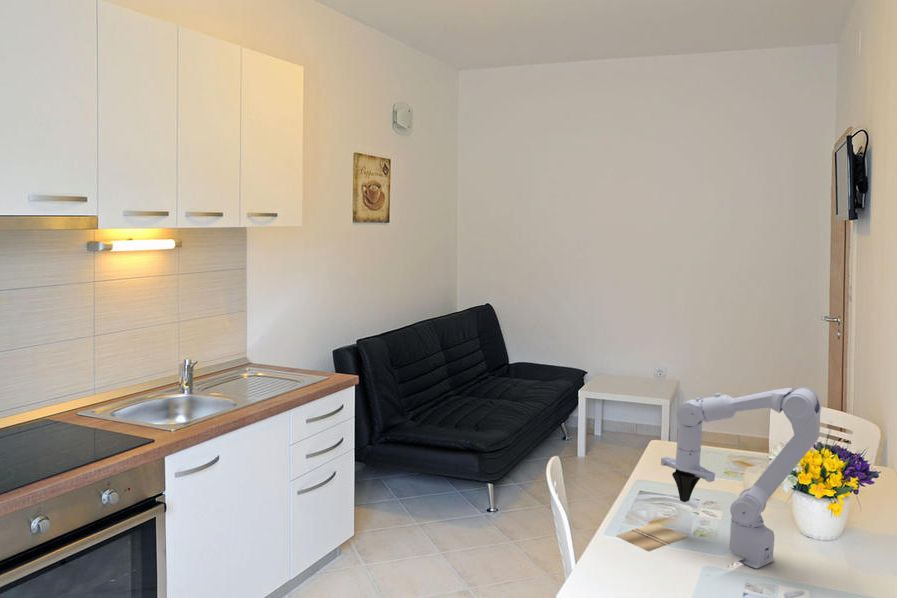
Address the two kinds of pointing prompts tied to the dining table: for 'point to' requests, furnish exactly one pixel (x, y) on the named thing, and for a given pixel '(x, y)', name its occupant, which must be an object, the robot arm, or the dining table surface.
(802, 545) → the dining table surface
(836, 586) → the dining table surface
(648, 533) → the plank
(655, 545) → the laid board
